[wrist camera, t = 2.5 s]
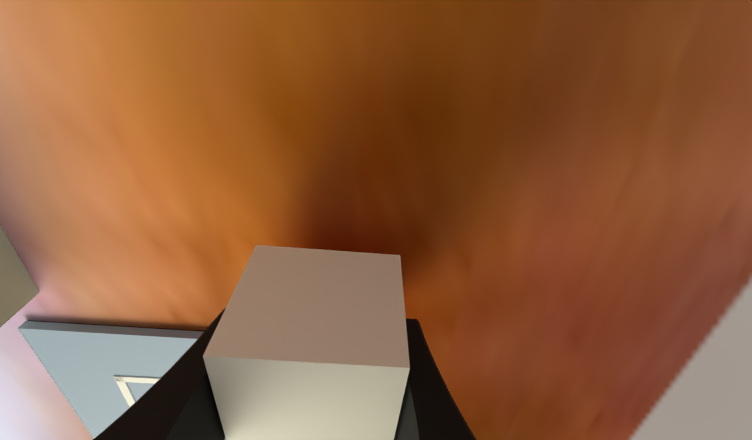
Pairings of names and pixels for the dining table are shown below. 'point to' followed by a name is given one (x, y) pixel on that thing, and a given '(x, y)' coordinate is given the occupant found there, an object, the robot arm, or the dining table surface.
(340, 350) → the cream block
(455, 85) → the dining table surface
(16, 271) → the sage block
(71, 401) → the plate
